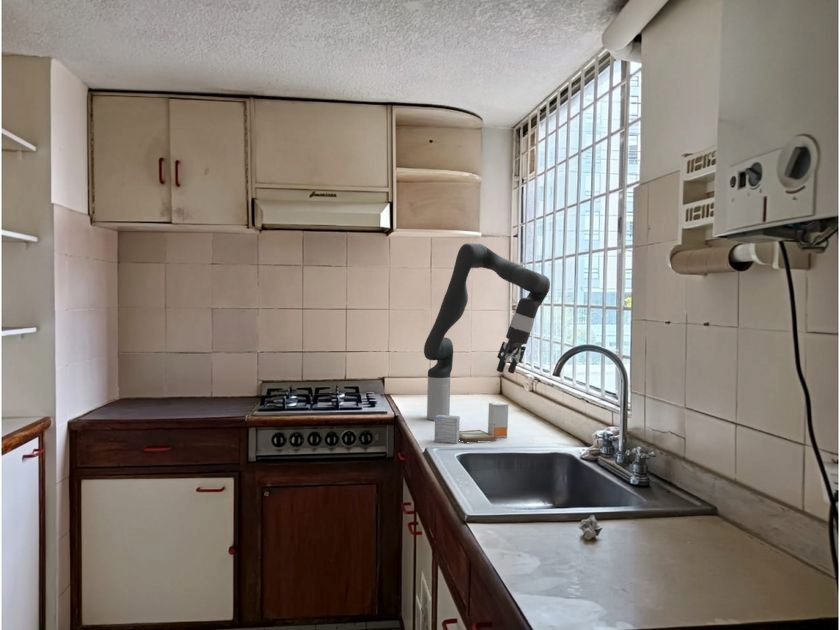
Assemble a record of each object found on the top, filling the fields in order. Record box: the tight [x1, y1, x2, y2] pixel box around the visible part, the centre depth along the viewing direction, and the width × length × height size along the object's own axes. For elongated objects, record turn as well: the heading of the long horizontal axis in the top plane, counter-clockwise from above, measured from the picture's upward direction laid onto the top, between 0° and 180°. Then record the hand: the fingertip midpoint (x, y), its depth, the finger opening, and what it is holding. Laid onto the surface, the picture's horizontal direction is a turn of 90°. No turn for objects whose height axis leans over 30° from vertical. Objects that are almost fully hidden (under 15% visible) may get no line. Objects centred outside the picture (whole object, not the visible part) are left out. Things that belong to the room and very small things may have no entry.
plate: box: [459, 429, 497, 444], centre depth 215 cm, size 12×12×2 cm
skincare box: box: [487, 401, 509, 439], centre depth 219 cm, size 6×4×12 cm
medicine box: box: [433, 414, 461, 444], centre depth 210 cm, size 8×4×9 cm, turn 74°
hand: (505, 372), depth 214 cm, fingers open, 8 cm apart
